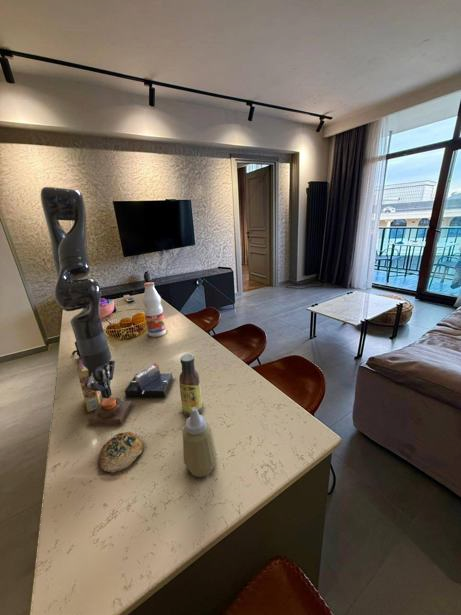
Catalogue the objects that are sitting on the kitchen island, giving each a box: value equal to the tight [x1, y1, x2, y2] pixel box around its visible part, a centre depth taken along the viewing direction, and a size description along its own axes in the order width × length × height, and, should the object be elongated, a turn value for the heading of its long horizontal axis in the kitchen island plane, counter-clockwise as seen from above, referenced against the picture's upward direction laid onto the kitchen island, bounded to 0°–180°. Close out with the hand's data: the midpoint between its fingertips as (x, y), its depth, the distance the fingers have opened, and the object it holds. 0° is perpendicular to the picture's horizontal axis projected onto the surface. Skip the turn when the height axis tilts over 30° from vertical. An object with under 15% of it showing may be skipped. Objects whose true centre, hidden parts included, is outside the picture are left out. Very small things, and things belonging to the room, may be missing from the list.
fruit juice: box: [142, 281, 167, 338], centre depth 132 cm, size 9×9×28 cm
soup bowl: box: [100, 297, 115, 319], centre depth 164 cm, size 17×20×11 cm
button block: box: [88, 397, 133, 426], centre depth 81 cm, size 10×8×4 cm
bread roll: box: [98, 431, 144, 474], centre depth 67 cm, size 11×11×5 cm
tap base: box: [124, 373, 174, 399], centre depth 93 cm, size 14×13×3 cm
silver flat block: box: [134, 362, 161, 389], centre depth 91 cm, size 9×2×5 cm, turn 146°
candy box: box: [76, 359, 102, 412], centre depth 85 cm, size 9×4×15 cm, turn 26°
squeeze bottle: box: [182, 407, 217, 478], centre depth 60 cm, size 8×8×18 cm
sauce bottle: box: [178, 353, 203, 417], centre depth 78 cm, size 6×6×20 cm
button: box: [101, 396, 117, 410], centre depth 80 cm, size 4×4×2 cm
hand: (107, 396), depth 79 cm, fingers closed
